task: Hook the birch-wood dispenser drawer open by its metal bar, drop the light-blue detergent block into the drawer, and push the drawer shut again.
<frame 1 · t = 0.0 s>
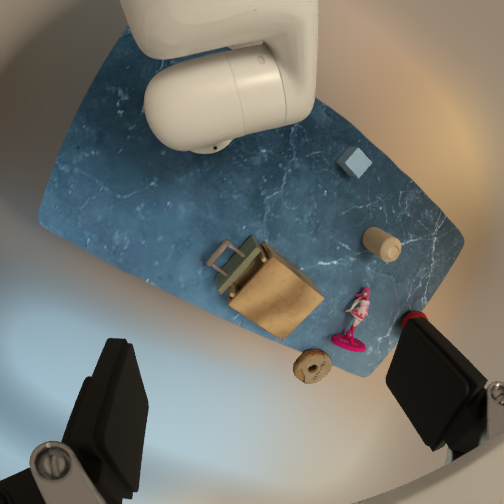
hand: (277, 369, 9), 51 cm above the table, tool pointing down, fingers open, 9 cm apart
drawer: (251, 274, 60), point 5 cm above the table, slide at 2.0 cm
cabinet: (269, 281, 66), on the table
block: (349, 161, 59), on the table
apple: (415, 325, 69), point 7 cm above the table
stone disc: (326, 371, 76), point 2 cm above the table
figurine: (347, 344, 70), point 5 cm above the table
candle: (371, 237, 66), on the table
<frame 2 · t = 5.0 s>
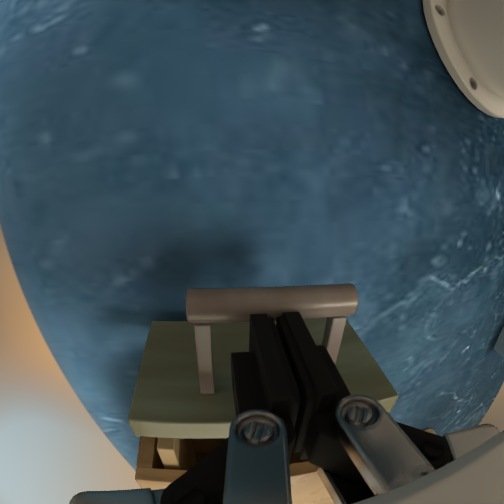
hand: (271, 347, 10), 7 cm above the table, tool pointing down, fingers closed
drawer: (256, 415, 15), point 5 cm above the table, slide at 2.8 cm, touching gripper
cabinet: (244, 423, 22), on the table
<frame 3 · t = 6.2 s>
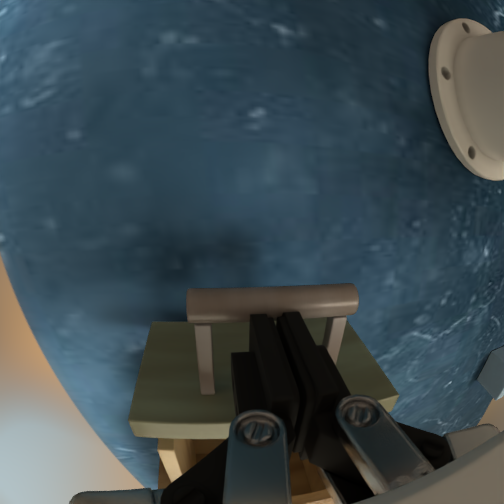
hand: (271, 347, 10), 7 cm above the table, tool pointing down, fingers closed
drawer: (256, 415, 15), point 5 cm above the table, slide at 7.7 cm, touching gripper
cabinet: (244, 452, 23), on the table
block: (493, 361, 26), on the table
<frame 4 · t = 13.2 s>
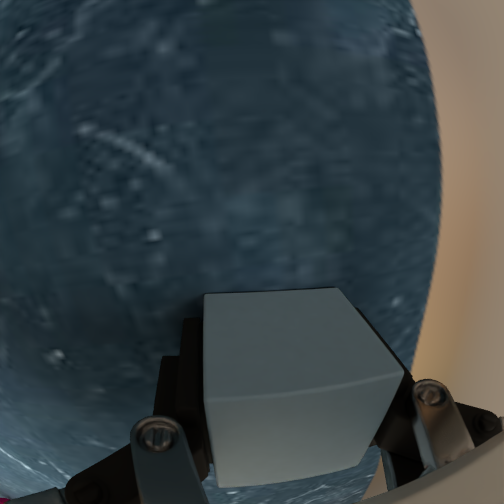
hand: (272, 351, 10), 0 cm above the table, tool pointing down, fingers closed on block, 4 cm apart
block: (270, 345, 10), on the table, touching gripper
when the fingers open (6 cm above the table, at t = 21.1 s): block stays where it is, resting on drawer.
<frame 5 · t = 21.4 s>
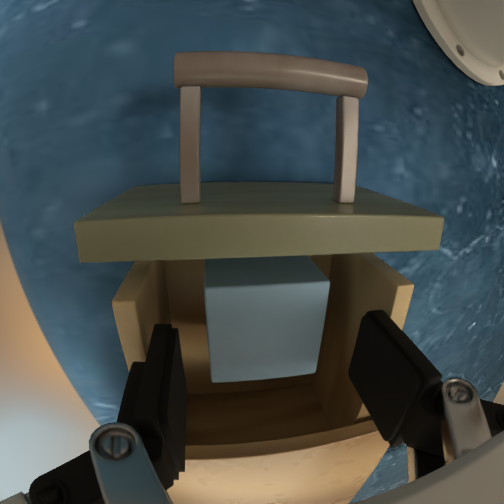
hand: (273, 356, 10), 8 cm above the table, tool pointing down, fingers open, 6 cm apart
drawer: (258, 296, 13), point 5 cm above the table, slide at 8.2 cm, touching block, gripper
cabinet: (245, 406, 21), on the table
block: (251, 286, 15), point 2 cm above the table, touching drawer
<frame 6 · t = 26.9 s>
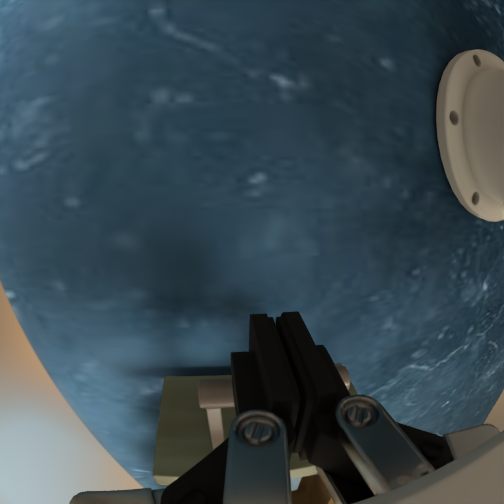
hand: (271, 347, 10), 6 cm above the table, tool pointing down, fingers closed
drawer: (261, 454, 16), point 5 cm above the table, slide at 7.5 cm, touching block, gripper
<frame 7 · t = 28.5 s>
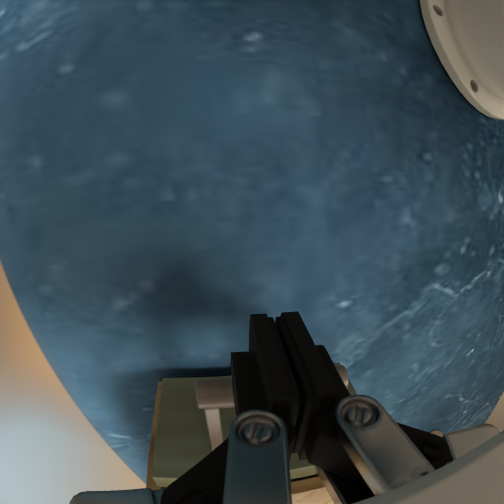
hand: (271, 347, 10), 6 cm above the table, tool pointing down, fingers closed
drawer: (261, 455, 16), point 5 cm above the table, slide at 0.0 cm, touching block, cabinet, gripper
cabinet: (251, 436, 21), on the table
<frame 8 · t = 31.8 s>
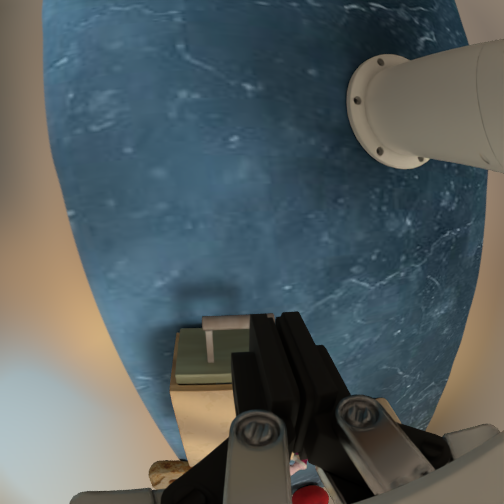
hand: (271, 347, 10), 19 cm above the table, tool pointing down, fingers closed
drawer: (236, 379, 29), point 5 cm above the table, slide at 0.0 cm, touching block, cabinet
cabinet: (233, 377, 35), on the table
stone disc: (185, 488, 42), point 2 cm above the table
figurine: (240, 489, 39), point 5 cm above the table
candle: (372, 407, 42), on the table
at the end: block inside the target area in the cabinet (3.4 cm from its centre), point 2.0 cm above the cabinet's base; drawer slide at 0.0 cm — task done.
